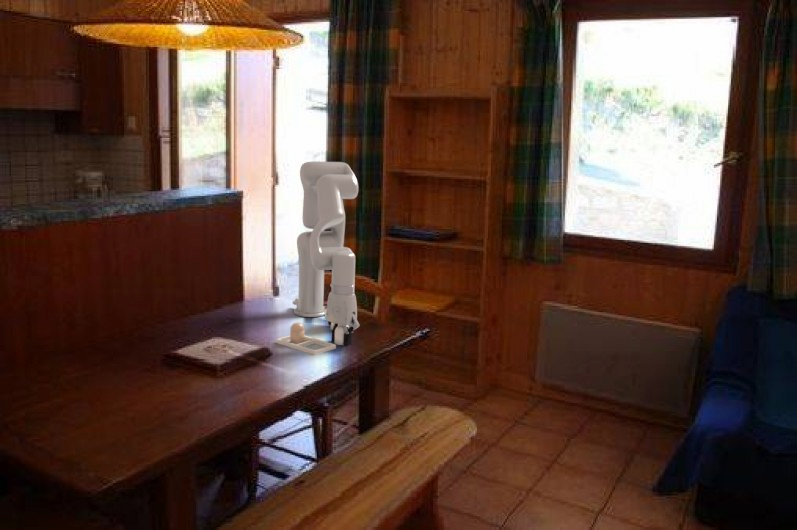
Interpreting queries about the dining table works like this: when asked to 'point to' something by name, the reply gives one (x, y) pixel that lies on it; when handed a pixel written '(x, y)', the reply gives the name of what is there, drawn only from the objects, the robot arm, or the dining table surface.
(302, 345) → the caddy
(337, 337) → the white egg
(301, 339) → the brown egg
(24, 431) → the dining table surface
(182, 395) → the dining table surface
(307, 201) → the robot arm
